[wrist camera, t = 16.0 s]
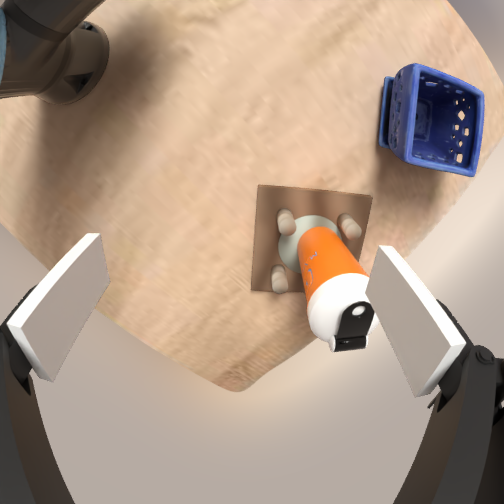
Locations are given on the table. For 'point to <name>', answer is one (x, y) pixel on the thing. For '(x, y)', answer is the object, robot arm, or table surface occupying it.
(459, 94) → the flower pot
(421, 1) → the table surface
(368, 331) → the shaker bottle
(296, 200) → the cradle
